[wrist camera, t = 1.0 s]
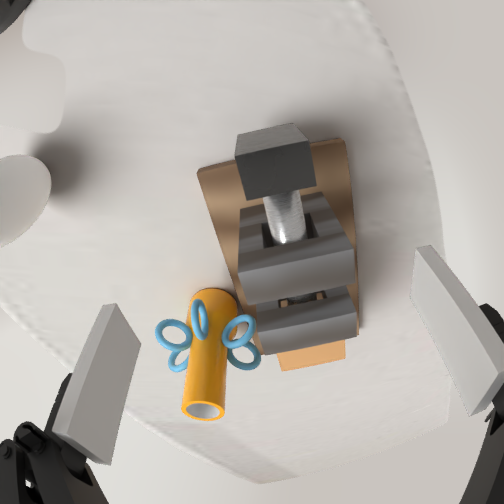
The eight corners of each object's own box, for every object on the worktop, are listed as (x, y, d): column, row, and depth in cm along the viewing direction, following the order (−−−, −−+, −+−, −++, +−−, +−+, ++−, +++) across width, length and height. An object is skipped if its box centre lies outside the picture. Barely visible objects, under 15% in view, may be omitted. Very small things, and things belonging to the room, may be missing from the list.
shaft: (237, 135, 24) (234, 156, 18) (292, 122, 23) (308, 140, 17) (287, 331, 36) (293, 379, 30) (325, 323, 35) (337, 370, 29)
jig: (198, 168, 29) (172, 225, 19) (340, 138, 28) (392, 178, 18) (258, 347, 43) (261, 421, 33) (356, 327, 41) (379, 397, 31)
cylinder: (276, 289, 37) (289, 397, 25) (243, 343, 42) (243, 440, 30) (177, 257, 35) (146, 363, 22) (158, 318, 40) (133, 415, 27)
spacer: (270, 304, 33) (274, 347, 28) (331, 291, 32) (344, 332, 27) (277, 329, 35) (281, 371, 30) (333, 317, 34) (345, 358, 29)
